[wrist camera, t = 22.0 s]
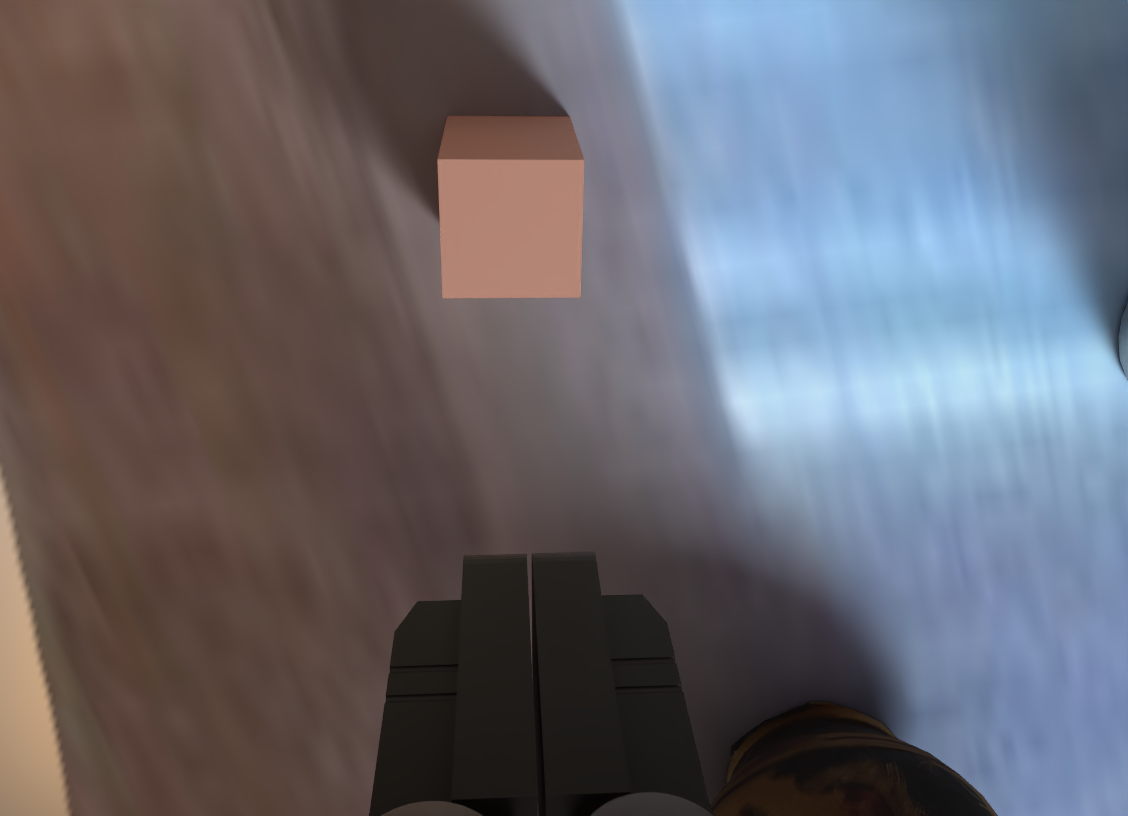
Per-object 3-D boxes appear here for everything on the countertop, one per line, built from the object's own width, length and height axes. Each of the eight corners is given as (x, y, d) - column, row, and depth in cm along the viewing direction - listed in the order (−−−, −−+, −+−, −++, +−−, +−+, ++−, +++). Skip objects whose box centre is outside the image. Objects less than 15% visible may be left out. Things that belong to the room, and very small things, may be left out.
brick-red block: (569, 116, 38) (584, 159, 32) (567, 234, 40) (580, 297, 34) (447, 115, 38) (437, 159, 31) (451, 234, 40) (442, 298, 33)
